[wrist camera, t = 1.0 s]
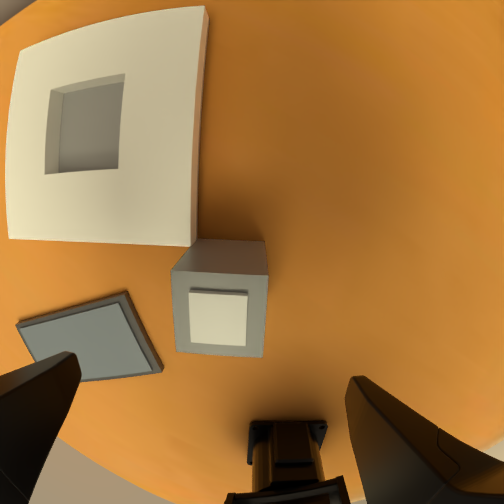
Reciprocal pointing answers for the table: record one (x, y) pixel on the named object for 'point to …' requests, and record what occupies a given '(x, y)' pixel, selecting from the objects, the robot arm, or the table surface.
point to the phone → (95, 338)
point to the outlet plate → (109, 132)
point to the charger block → (221, 298)
